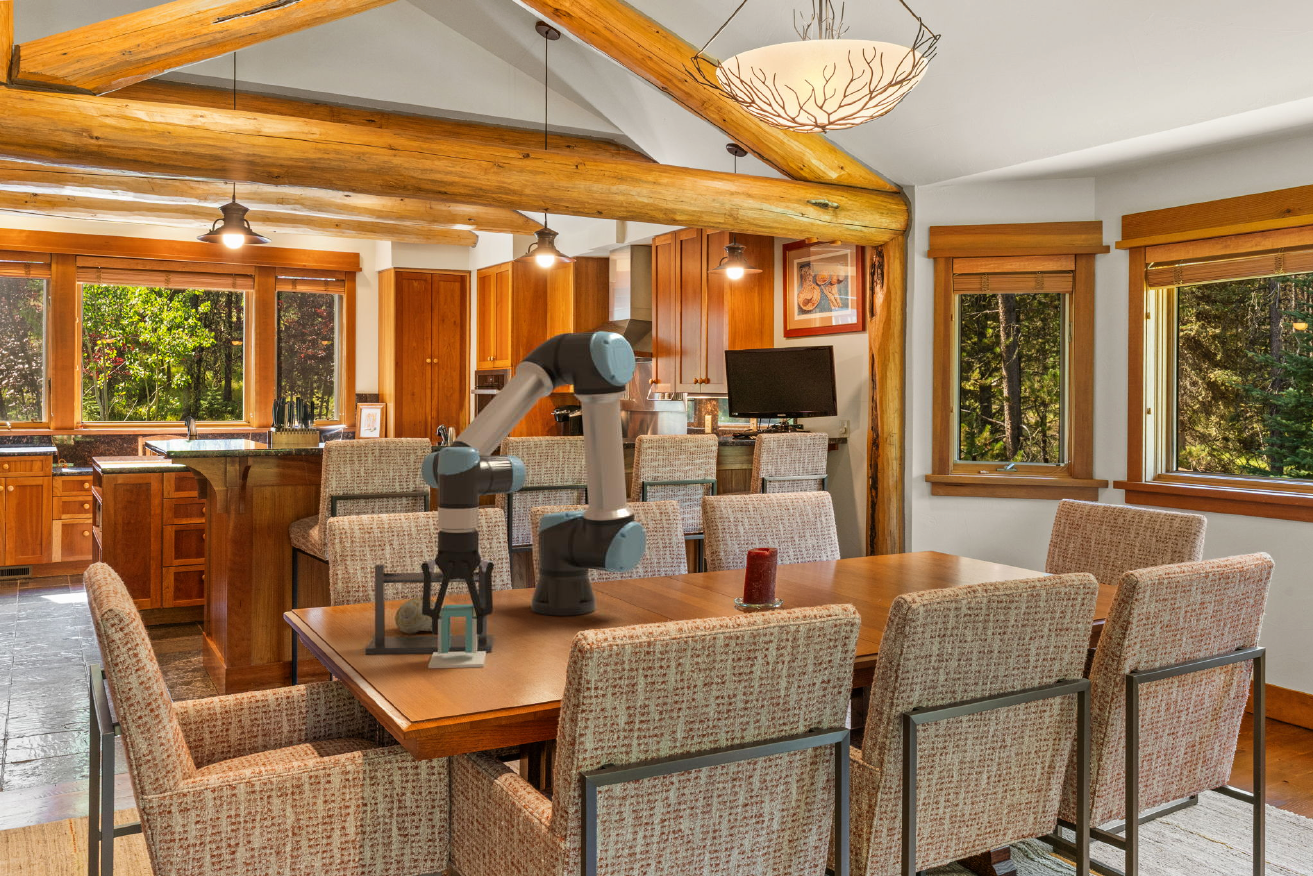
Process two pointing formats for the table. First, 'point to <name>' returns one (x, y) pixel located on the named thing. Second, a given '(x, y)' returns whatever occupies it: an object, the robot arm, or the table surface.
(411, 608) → the seashell
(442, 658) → the mat
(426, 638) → the stand
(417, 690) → the table surface
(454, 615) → the c link
